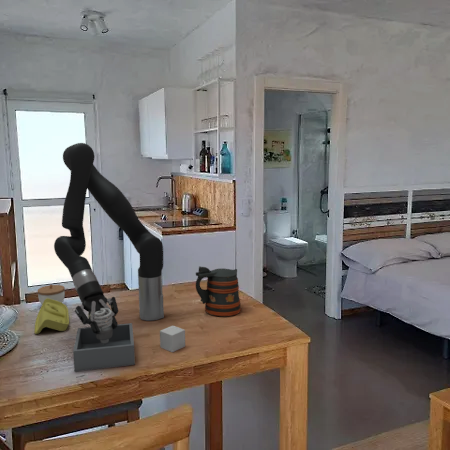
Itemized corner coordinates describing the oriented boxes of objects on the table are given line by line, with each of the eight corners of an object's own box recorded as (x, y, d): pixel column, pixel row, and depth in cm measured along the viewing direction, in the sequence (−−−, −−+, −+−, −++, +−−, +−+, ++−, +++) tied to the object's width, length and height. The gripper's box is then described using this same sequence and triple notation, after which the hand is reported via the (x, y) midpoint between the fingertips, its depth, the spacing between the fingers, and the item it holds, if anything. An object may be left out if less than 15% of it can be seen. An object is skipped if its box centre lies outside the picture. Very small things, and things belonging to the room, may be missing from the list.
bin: (132, 340, 159) (132, 323, 158) (134, 364, 142) (134, 345, 141) (79, 346, 155) (77, 328, 154) (74, 371, 138) (73, 351, 137)
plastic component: (69, 325, 167) (42, 317, 163) (61, 343, 167) (34, 336, 163) (67, 303, 185) (43, 296, 181) (60, 320, 185) (35, 313, 181)
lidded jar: (42, 312, 186) (40, 290, 184) (36, 305, 194) (34, 284, 192) (69, 307, 192) (67, 285, 190) (61, 300, 200) (59, 279, 199)
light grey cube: (160, 347, 154) (159, 330, 153) (173, 341, 158) (172, 325, 157) (172, 352, 150) (171, 335, 149) (185, 346, 155) (184, 329, 154)
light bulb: (97, 340, 150) (95, 305, 148) (114, 339, 151) (113, 305, 148) (94, 348, 145) (92, 312, 142) (112, 347, 145) (110, 311, 143)
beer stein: (206, 322, 175) (205, 272, 171) (189, 310, 187) (188, 263, 184) (247, 313, 185) (247, 265, 181) (228, 302, 197) (228, 257, 193)
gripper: (69, 284, 145) (89, 331, 138) (110, 275, 154) (130, 319, 148) (63, 296, 149) (82, 342, 143) (103, 287, 159) (122, 329, 153)
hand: (106, 330), depth 146 cm, fingers closed on light bulb, 5 cm apart
